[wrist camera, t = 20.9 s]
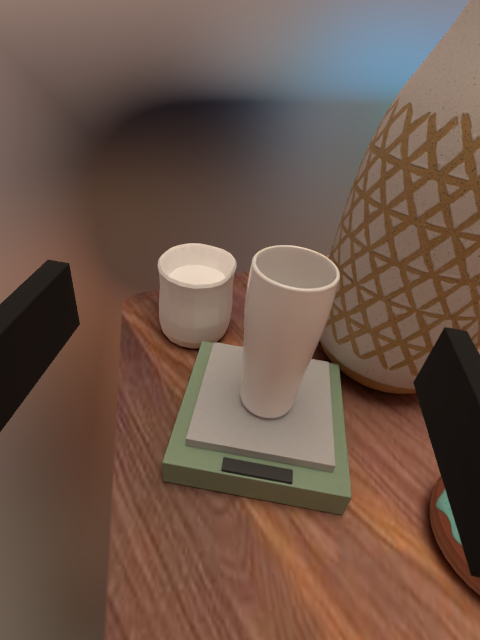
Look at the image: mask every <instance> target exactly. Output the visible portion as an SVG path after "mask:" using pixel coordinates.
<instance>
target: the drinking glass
mask: <svg viewBox="0 0 480 640" xmlns="http://www.w3.org/2000/svg"><path fill="white" fill-rule="evenodd" d="M339 279H340V273H339V270H338V268H337V266H336V265H335V264H334V263H333V262H332V261H331V260H330V259H329V258H327V257H326V256H324V255H322V254H320V253H318V252H315V251H313V250H310V249H306V248H303V247H297V246H289V245H279V246H271V247H267V248H265V249H263V250H260V251H259V252H257V253H256V254H255V255H254V257H253V259H252V264H251V269H250V273H249V279H248V284H247V291H246V299H245V311H244V336H243V361H242V380H241V386H240V398H241V401H242V403H243V405H244V406H245V407H246V408H247V409H248V410H249V411H250V412H251V413H253V414H255V415H257V416H259V417H263V418H278V417H281V416H283V415H285V414H286V413H288V412H289V411H290V410H291V408H292V407H293V405H294V402H295V399H296V395H297V392H298V390H299V387H300V385H301V382H302V380H303V378H304V375H305V373H306V370H307V368H308V366H309V363H310V361H311V359H312V357H313V354H314V352H315V350H316V347H317V345H318V343H319V340H320V338H321V336H322V333H323V331H324V329H325V326H326V323H327V321H328V318H329V315H330V312H331V309H332V306H333V302H334V299H335V295H336V291H337V287H338V283H339Z"/></svg>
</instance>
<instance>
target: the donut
mask: <svg viewBox="0 0 480 640" xmlns="http://www.w3.org/2000/svg"><path fill="white" fill-rule="evenodd" d="M430 521H431V526H432V530H433V533H434V536H435V538H436V541H437V543H438V545H439V547H440V549H441V551H442V553H443V554H444V556H445V558H446V559H447V561H448V562H449V563H450V565H451V566H452V568H453V569H454V570H455V572H456V573H457V574H458V575H459V576H460V577H461V578H462V579H463V580H464V581H465V583H466V584H467V585H468V586H469V587H471V588H472V589H473V590H474V591H475V592H476V593H478V594H479V595H480V578H479V577H474V576H471V574H470V570H469V567H468V564H467V560H466V557H465V554H464V550H463V547H462V544H461V540H460V537H459V534H458V530H457V527H456V524H455V520H454V517H453V513H452V510H451V507H450V503H449V500H448V497H447V493H446V490H445V487H444V483H443V480H442V477H440V478H439V479H438V481H437V483H436V484H435V486H434V488H433V491H432V495H431V498H430Z"/></svg>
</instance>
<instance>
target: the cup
mask: <svg viewBox="0 0 480 640" xmlns="http://www.w3.org/2000/svg"><path fill="white" fill-rule="evenodd" d="M235 269H236V260H235V259H234V257H233V256H232V255H231V254H230V253H229V252H227V251H225V250H223V249H220V248H217V247H213V246H209V245H204V244H194V243H189V244H183V245H178V246H175V247H172V248H170V249H169V250H168V251H166V252H165V253H164V254H163V255H162V256H161V257H160V259H159V260H158V270H159V275H160V299H159V320H160V324H161V328H162V331H163V333H164V334H165V335H166V336H167V337H168V339H169V340H170V341H171V342H173V343H175V344H177V345H179V346H182V347H186V348H191V349H196V348H200V346H201V343H202V341H206V342H211V343H214V342H217V341H218V340H220V339H221V338H222V337H223V336H224V334H225V332H226V330H227V328H228V326H229V322H230V318H231V311H232V285H233V278H234V273H235Z"/></svg>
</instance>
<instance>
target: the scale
mask: <svg viewBox="0 0 480 640" xmlns="http://www.w3.org/2000/svg"><path fill="white" fill-rule="evenodd" d="M242 361H243V347H240V346H234V345H228V344H222V343H217V342H214V343H211V342H206V341H202V343H201V346H200V349H199V352H198V355H197V358H196V361H195V364H194V367H193V370H192V373H191V376H190V379H189V382H188V385H187V388H186V391H185V394H184V397H183V401H182V404H181V407H180V410H179V413H178V416H177V419H176V422H175V425H174V428H173V431H172V434H171V437H170V440H169V443H168V446H167V449H166V452H165V455H164V458H163V462H162V472H163V481H164V482H170V483H175V484H180V485H186V486H191V487H196V488H202V489H207V490H212V491H217V492H223V493H228V494H233V495H239V496H244V497H249V498H255V499H260V500H265V501H271V502H276V503H281V504H287V505H292V506H297V507H302V508H308V509H313V510H318V511H324V512H329V513H334V514H340V515H342V514H343V512H344V511H345V509H346V507H347V505H348V503H349V502H350V500H351V498H352V495H351V485H350V474H349V464H348V453H347V443H346V432H345V422H344V411H343V401H342V390H341V380H340V369H339V365H338V364H333V363H329V362H326V361H321V360H315V359H311V361H310V363H309V366H308V368H307V370H306V373H305V375H304V378H303V380H302V382H301V385H300V387H299V390H298V392H297V395H296V399H295V402H294V405H293V407H292V408H291V410H290V411H289V412H288V413H286V414H285V415H283V416H281V417H278V418H263V417H259V416H257V415H255V414H253V413H251V412H250V411H249V410H248V409H247V408H246V407H245V406H244V405H243V403H242V401H241V398H240V386H241V380H242Z"/></svg>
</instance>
